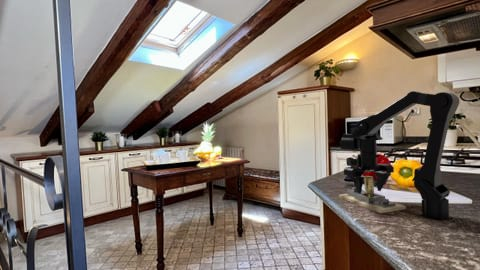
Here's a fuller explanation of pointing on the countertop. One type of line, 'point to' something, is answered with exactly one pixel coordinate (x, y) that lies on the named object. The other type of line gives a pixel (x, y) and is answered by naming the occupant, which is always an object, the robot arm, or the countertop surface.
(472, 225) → the countertop surface
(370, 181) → the brass pin
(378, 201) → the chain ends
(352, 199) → the wooden board
